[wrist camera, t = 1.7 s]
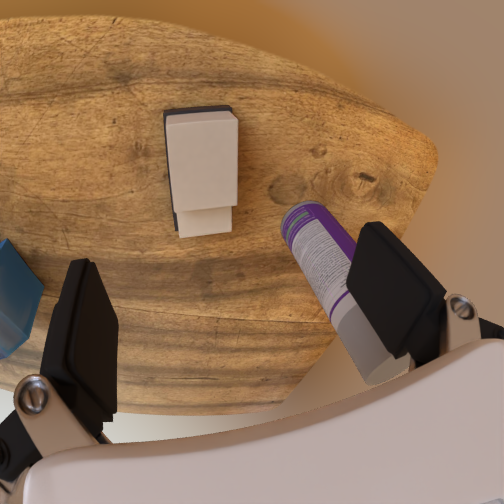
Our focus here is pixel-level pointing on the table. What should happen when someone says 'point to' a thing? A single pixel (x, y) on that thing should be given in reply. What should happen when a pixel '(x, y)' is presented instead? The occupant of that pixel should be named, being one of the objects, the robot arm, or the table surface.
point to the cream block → (202, 168)
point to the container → (337, 286)
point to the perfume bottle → (16, 299)
